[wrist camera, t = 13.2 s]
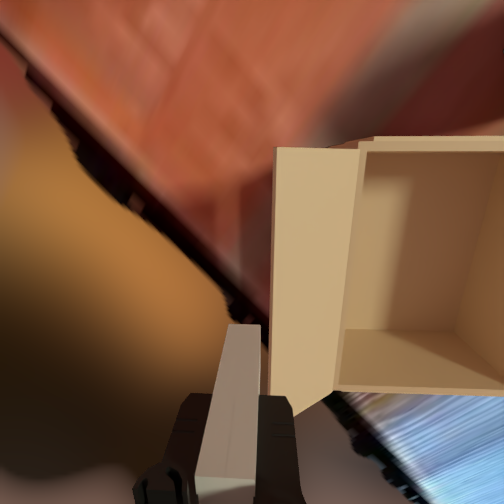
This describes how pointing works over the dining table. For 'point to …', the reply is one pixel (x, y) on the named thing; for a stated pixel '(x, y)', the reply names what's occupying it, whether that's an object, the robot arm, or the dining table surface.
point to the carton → (425, 268)
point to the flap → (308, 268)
